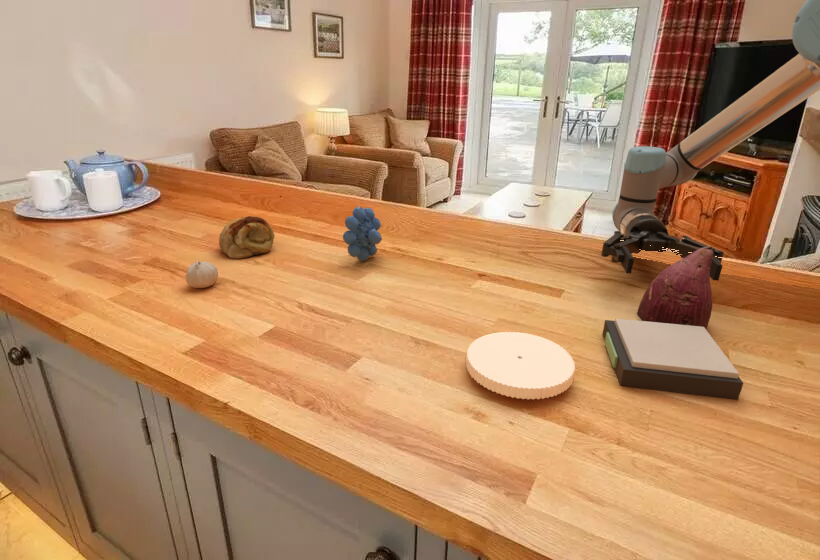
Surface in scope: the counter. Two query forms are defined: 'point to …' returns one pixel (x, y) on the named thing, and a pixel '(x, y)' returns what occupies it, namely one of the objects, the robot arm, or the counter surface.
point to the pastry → (246, 237)
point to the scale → (670, 358)
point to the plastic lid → (520, 365)
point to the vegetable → (681, 292)
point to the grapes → (362, 233)
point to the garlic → (201, 274)
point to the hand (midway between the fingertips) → (673, 269)
